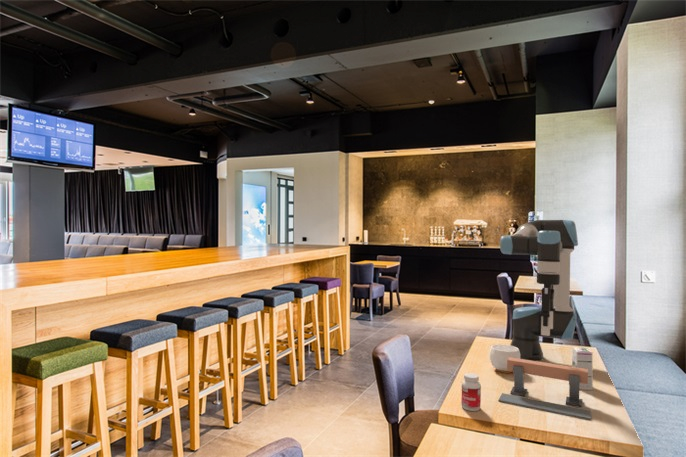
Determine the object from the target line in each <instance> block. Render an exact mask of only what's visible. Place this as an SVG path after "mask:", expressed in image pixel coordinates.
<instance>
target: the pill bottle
mask: <svg viewBox="0 0 686 457" xmlns="http://www.w3.org/2000/svg"><path fill="white" fill-rule="evenodd" d="M463 379H464V380H462V381H461V407H462V409H464V410H466V411H469V412H477V411H479V410H480V409H481V405H482V404H481V400H482V398H481V397H482V396H481V394H482V392H481V391H482V385H481V383H480V382H479V380H480V378H479V375H478V374H476V373H472V372H471V373H470V372H466V373H464V375H463Z"/></svg>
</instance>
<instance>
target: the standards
mask: <svg viewBox="0 0 686 457" xmlns="http://www.w3.org/2000/svg"><path fill="white" fill-rule="evenodd" d="M512 375H513V377H514V378H513V379H514V381H513V382H514V383H513V386H512V389H511V390H510V395H514V396H520V397H525V398H526V396H527V394H528V388H525V374H524V373H523V367H522V366H516V365H514V366H513V372H512ZM568 385H569V392H568V394H569V395H568V396H566V398H565V405H566V406H571V407H576V408H581V409H583V399H582V398H580V389H579V386H580V376H578V375H572V374H569V381H568Z"/></svg>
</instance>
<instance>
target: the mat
mask: <svg viewBox="0 0 686 457" xmlns="http://www.w3.org/2000/svg"><path fill="white" fill-rule="evenodd" d="M500 394H501V395H500V396H499V398H498V402H499V403H504V404H509V405H515V406H519V407H523V408H528V409H533V410H539V411H544V412H549V413H553V414H558V415H562V416H567V417H568V416H569V417H572V418H578V419H582V420H586V421H587V420H588V421H591V420H592V419H591V409H590V410H589V409H585V408H581V407H576V406H570V405H566V404H565V405H564V404H560V403H554V402H550V401H546V400H545V401H544V400H538V399H534V398H530V397H529V398H528V397H526V396H525V397H524V396H519V395H514V394H507V393H503V392H502V393H500Z"/></svg>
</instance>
